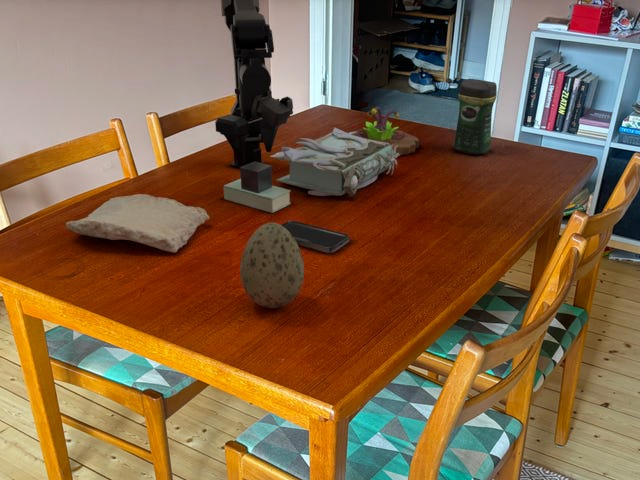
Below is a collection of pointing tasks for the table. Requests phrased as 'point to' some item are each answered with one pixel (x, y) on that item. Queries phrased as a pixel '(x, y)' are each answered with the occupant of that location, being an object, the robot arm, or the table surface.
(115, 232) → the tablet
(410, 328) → the table surface
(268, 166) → the block
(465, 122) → the coffee jar
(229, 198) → the pocket book
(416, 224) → the table surface
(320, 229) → the phone
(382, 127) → the plant
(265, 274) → the decorative egg
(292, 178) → the ornate book
